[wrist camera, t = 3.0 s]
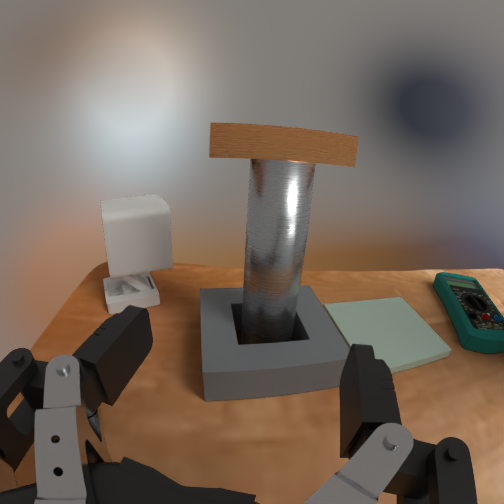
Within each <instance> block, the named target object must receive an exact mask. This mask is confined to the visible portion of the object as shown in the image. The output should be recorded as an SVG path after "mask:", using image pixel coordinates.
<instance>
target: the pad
mask: <svg viewBox="0 0 504 504" xmlns="http://www.w3.org/2000/svg"><path fill="white" fill-rule="evenodd" d="M323 308H324V309H325V311H326V313H327V314H328V316H329V317H330V319H331V321H332V322H333V324H334V325H335V327H336V329H337V330H338V332H339V333H340V335H341V337H342V338H343V340H344V341H345V343H346V345H347V346H348V348H349V350H350V348H351V345H352V344H364V345H372V346H373V350H374V355H375V359H383V360H384V361H385V363H386V364H387V365H388V367H389V368H390V370H391V374H392V373H396V372H400V371H403V370H407V369H410V368H414V367H417V366H420V365H424V364H427V363H430V362H433V361H436V360H439V359H442V358H445V357H448V356H449V355H450V353H451V351H452V349H451V348H450V347H449V346H448V345H447V344H446V343H445V342H444V341H443V340H442V339H441V337H440V336H439V335H438V334H437V333H436V332H435V331H434V330H433V329H432V328H431V327H430V326H429V325H428V324H427V323H426V322H425V321H424V320H423V319H422V318H421V317H420V316H419V315H418V313H417V312H416V311H415V310H414V309H413V308H412V307H411V306H410V305H409V304H408V303H407V302H406V301H405V300H404V299H403V298H402V297H393V298H384V299H374V300H364V301H353V302H342V303H330V304H324V305H323Z"/></svg>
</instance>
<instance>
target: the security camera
mask: <svg viewBox="0 0 504 504" xmlns="http://www.w3.org/2000/svg"><path fill="white" fill-rule="evenodd" d="M101 212H102V222H103V231H104V240H105V247H106V255H107V261H108V268H109V274H110V277H108V278H104V279H103V283H104V290H105V297H106V303H107V308H108V312H109V314H115V313H120V312H122V311H123V310H124V309H125V308H126V307H127V306H128V305H133V306H137V307H142V308H146V307H151V306H156V305H160V297H159V292H158V290H157V288H156V285H155V283H154V281H153V279H152V277H151V275H150V272H151V271H157V270H163V269H172V267H173V263H172V245H171V218H170V208H169V205H168V204H167V203H166V202H165V201H164V200H163V199H162V198H161V197H159V196H158V195H157V194H153V195H143V196H135V197H126V198H118V199H110V200H102V201H101Z"/></svg>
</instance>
